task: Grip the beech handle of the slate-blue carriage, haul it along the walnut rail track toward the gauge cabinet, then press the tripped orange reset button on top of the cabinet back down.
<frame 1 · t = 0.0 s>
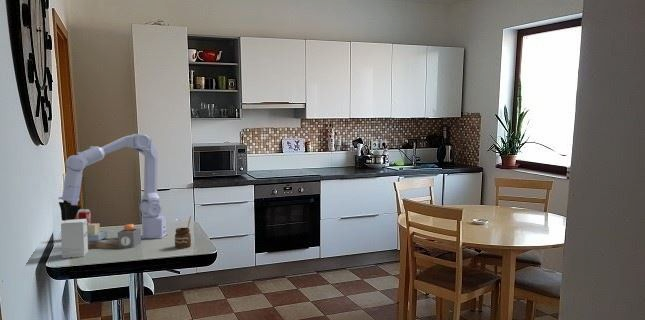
hand: (67, 222, 176), 11 cm above the table, tool pointing down, fingers open, 7 cm apart
gauge cabinet: (129, 245, 182), on the table
rail track: (106, 245, 182), on the table
brown jar with straw: (183, 247, 179), on the table
soda can: (84, 238, 196), on the table
carriage: (93, 231, 181), point 6 cm above the table, slide at 0.0 cm
reset button: (129, 227, 181), point 7 cm above the table, slide at 0.0 cm
supplement box: (75, 255, 168), on the table
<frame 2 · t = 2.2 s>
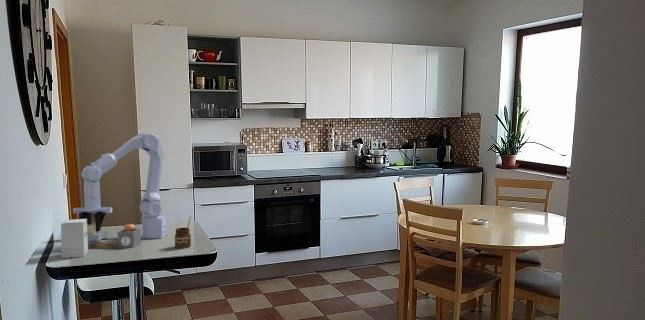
hand: (93, 231, 181), 6 cm above the table, tool pointing down, fingers closed on carriage, 3 cm apart
carriage: (93, 231, 181), point 6 cm above the table, slide at 0.0 cm, touching gripper
everything else where it was.
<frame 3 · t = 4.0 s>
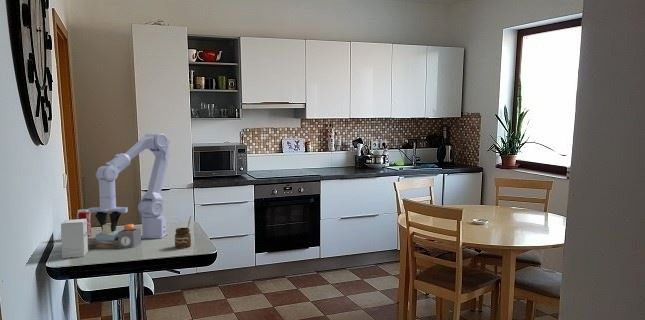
hand: (109, 231, 181), 6 cm above the table, tool pointing down, fingers closed on carriage, 3 cm apart
carriage: (108, 231, 181), point 6 cm above the table, slide at 6.0 cm, touching gripper
everything else where it was.
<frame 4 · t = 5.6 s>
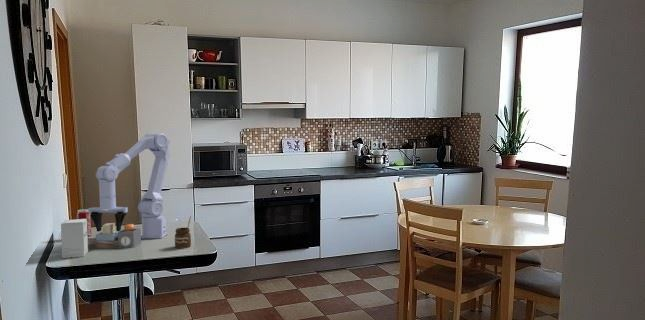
hand: (108, 231, 181), 6 cm above the table, tool pointing down, fingers open, 7 cm apart
carriage: (109, 231, 181), point 6 cm above the table, slide at 6.0 cm
everything else where it was.
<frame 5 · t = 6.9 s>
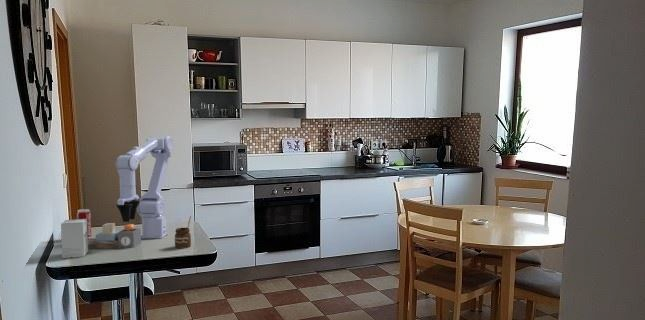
hand: (128, 220, 181), 10 cm above the table, tool pointing down, fingers open, 4 cm apart
nothing on the table moved.
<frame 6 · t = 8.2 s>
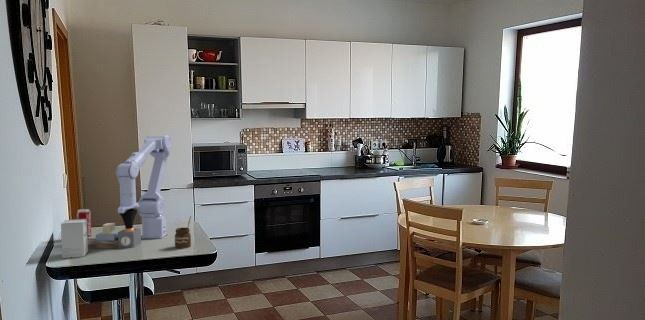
hand: (129, 228, 181), 7 cm above the table, tool pointing down, fingers closed, pressing on reset button
reset button: (129, 231, 181), point 6 cm above the table, slide at 1.3 cm, touching gripper
everything else where it was.
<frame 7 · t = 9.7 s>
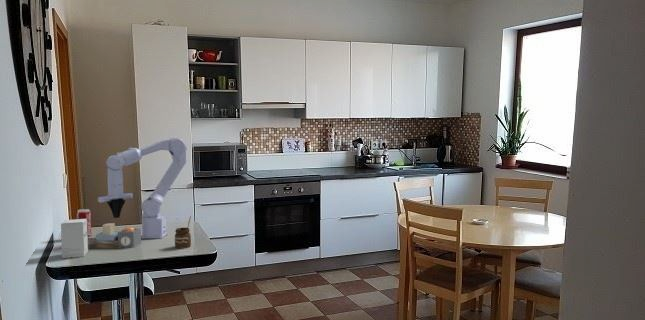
hand: (116, 217, 190), 10 cm above the table, tool pointing down, fingers closed
reset button: (129, 231, 181), point 6 cm above the table, slide at 1.3 cm
everything else where it was.
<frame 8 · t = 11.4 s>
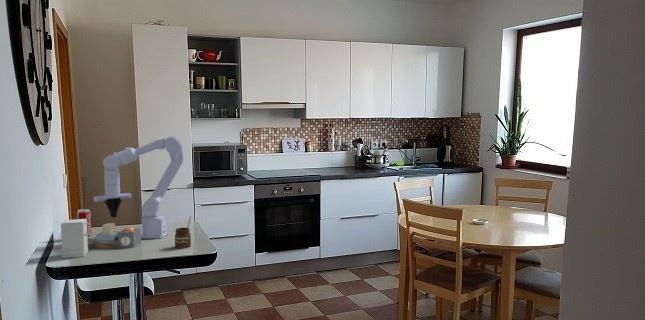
hand: (113, 216, 192), 9 cm above the table, tool pointing down, fingers closed
nothing on the table moved.
at the end: carriage slide at 6.0 cm; reset button slide at 1.3 cm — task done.
